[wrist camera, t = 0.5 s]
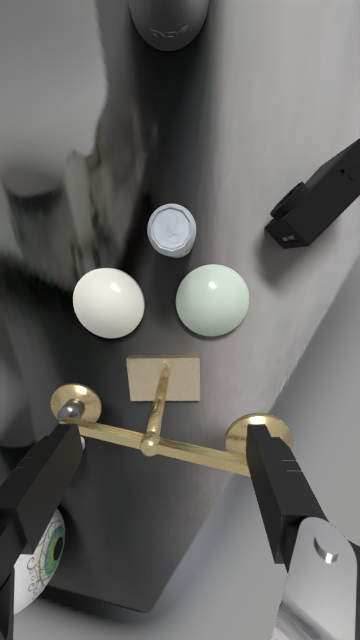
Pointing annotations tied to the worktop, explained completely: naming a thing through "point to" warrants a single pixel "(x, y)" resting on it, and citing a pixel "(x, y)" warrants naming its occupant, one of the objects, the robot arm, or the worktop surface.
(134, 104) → the worktop surface
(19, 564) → the decorative object
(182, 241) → the beer can
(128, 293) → the glossy white dome
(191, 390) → the balance
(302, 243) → the digital camera
